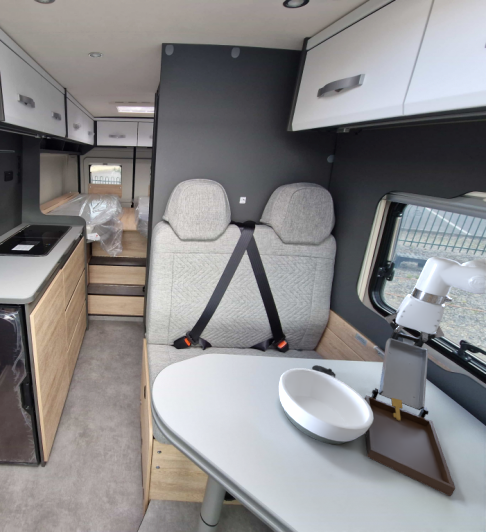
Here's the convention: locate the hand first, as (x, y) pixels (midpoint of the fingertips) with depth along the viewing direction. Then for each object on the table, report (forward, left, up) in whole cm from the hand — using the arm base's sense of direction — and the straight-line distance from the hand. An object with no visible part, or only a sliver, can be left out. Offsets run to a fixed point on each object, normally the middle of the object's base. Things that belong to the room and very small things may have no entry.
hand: (404, 344), depth 102 cm
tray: (+8, +30, -15) cm, 34 cm away
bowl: (+29, +30, -15) cm, 44 cm away
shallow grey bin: (+2, +8, -5) cm, 9 cm away
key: (+5, +19, -12) cm, 23 cm away
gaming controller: (+23, +10, -15) cm, 29 cm away
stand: (+5, +17, -15) cm, 23 cm away
